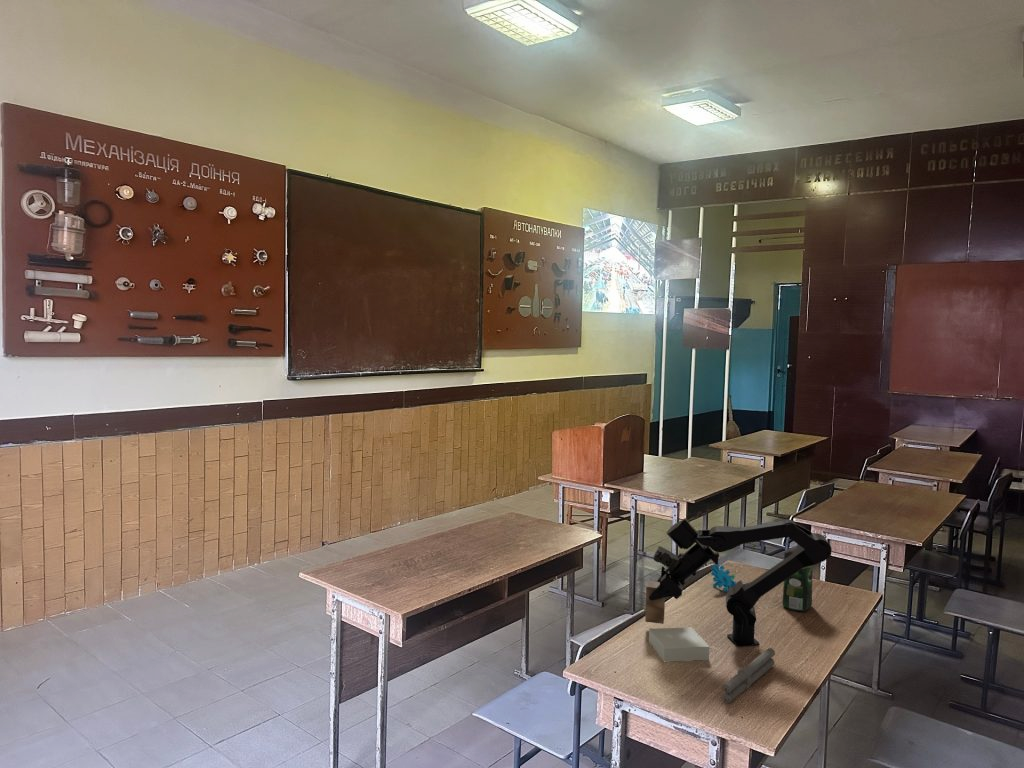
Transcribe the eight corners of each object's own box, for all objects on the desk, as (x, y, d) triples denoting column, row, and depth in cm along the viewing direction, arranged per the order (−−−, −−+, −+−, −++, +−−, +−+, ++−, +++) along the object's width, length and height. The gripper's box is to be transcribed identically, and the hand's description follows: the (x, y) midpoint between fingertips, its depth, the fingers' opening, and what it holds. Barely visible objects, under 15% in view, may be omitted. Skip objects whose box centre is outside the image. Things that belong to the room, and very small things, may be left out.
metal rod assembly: (765, 664, 177) (765, 645, 177) (775, 668, 175) (776, 649, 175) (719, 702, 158) (720, 681, 158) (731, 707, 156) (731, 685, 156)
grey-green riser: (708, 661, 179) (709, 646, 178) (663, 663, 177) (664, 648, 177) (691, 641, 191) (691, 627, 190) (648, 643, 189) (649, 628, 189)
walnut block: (664, 616, 198) (665, 582, 197) (663, 623, 193) (664, 588, 193) (646, 614, 199) (647, 580, 199) (645, 621, 194) (646, 586, 194)
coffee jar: (788, 599, 222) (790, 541, 221) (814, 605, 217) (816, 546, 216) (778, 608, 214) (781, 548, 213) (805, 614, 209) (808, 554, 208)
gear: (723, 591, 223) (708, 563, 229) (711, 600, 226) (697, 572, 232) (744, 589, 229) (729, 562, 235) (732, 598, 233) (718, 571, 238)
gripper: (672, 530, 203) (633, 563, 206) (670, 548, 185) (627, 585, 188) (699, 559, 201) (659, 592, 205) (700, 580, 183) (656, 616, 187)
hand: (650, 595), depth 196 cm, fingers closed on walnut block, 5 cm apart
